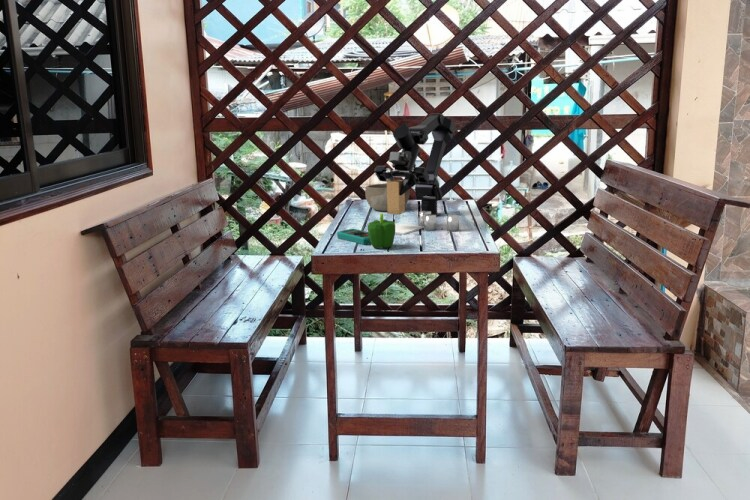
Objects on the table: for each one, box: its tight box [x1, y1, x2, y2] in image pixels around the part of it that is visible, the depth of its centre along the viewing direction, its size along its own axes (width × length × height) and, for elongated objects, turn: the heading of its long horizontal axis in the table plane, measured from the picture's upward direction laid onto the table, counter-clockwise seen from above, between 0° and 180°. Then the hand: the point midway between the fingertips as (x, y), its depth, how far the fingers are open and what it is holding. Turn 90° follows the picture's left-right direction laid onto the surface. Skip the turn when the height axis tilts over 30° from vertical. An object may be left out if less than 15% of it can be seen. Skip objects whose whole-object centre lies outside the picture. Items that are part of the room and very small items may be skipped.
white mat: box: [394, 222, 424, 235], centre depth 223 cm, size 12×14×1 cm
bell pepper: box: [367, 213, 396, 249], centre depth 197 cm, size 8×8×10 cm
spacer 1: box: [418, 210, 431, 226], centre depth 227 cm, size 4×4×5 cm
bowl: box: [364, 182, 410, 212], centre depth 260 cm, size 17×18×10 cm
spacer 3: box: [446, 214, 460, 233], centre depth 217 cm, size 4×4×5 cm
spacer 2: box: [423, 214, 437, 232], centre depth 220 cm, size 4×4×5 cm
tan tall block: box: [386, 179, 406, 215], centre depth 219 cm, size 4×4×11 cm
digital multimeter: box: [336, 228, 371, 246], centre depth 208 cm, size 7×15×3 cm, turn 40°
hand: (394, 194), depth 218 cm, fingers closed on tan tall block, 4 cm apart
